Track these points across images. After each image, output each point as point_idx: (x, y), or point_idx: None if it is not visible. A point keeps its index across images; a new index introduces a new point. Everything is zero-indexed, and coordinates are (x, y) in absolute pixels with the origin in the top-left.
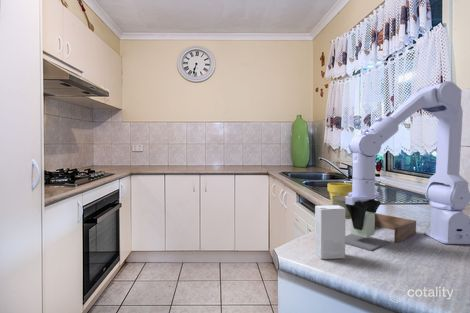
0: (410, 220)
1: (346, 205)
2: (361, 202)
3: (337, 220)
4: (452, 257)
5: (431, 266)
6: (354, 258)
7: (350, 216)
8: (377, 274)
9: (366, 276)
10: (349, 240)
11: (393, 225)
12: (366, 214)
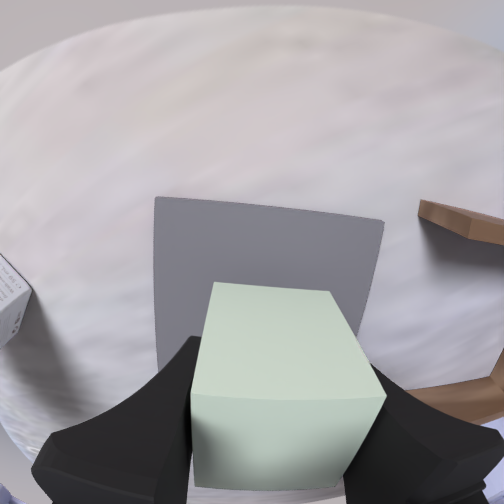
0: None
1: (46, 447)
2: (415, 478)
3: None
4: (305, 493)
5: (192, 484)
6: (47, 352)
7: None
8: (32, 412)
9: (5, 394)
10: (201, 266)
11: None
12: (222, 482)
